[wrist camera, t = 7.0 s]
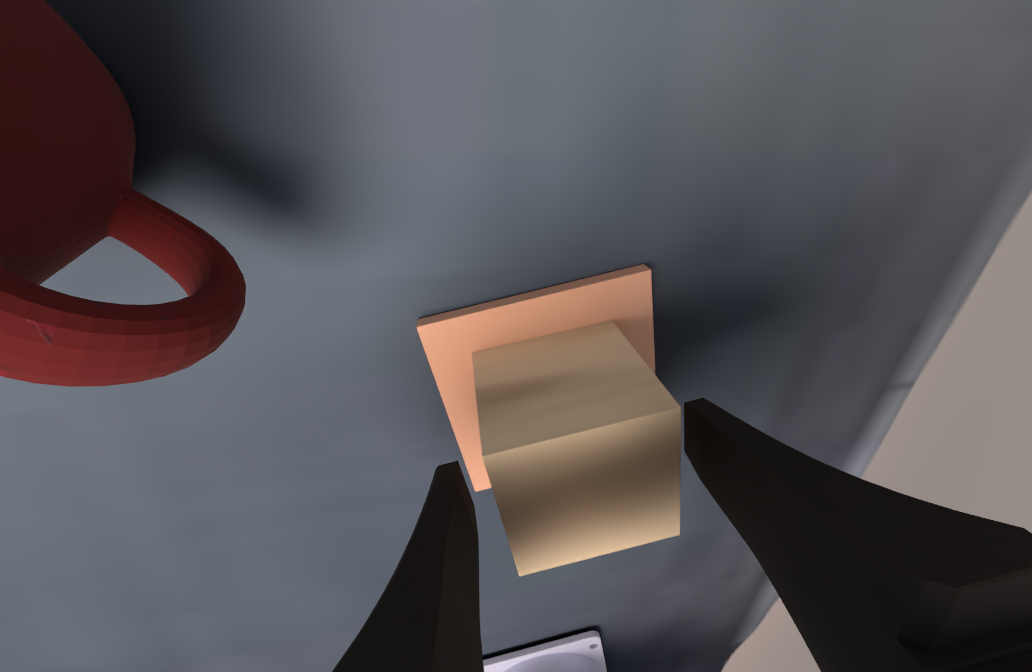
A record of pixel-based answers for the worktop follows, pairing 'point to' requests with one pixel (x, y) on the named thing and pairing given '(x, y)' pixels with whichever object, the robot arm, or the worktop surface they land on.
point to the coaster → (523, 319)
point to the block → (577, 445)
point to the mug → (89, 222)
